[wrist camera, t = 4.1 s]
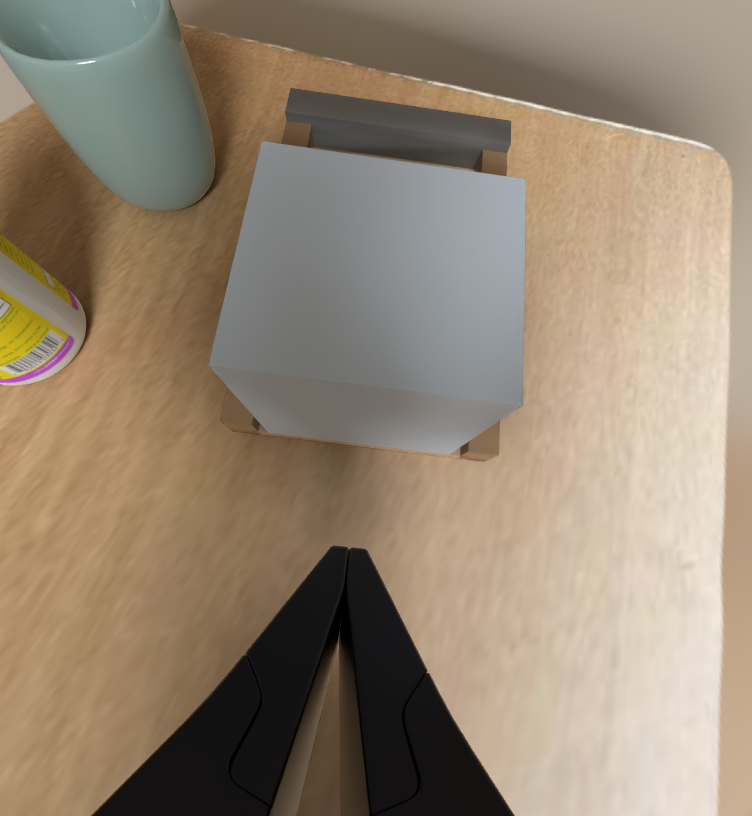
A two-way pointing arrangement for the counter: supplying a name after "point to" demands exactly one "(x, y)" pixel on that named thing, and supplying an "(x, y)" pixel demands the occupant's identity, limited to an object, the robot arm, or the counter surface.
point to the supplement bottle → (35, 320)
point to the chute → (402, 141)
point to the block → (375, 300)
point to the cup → (116, 93)
